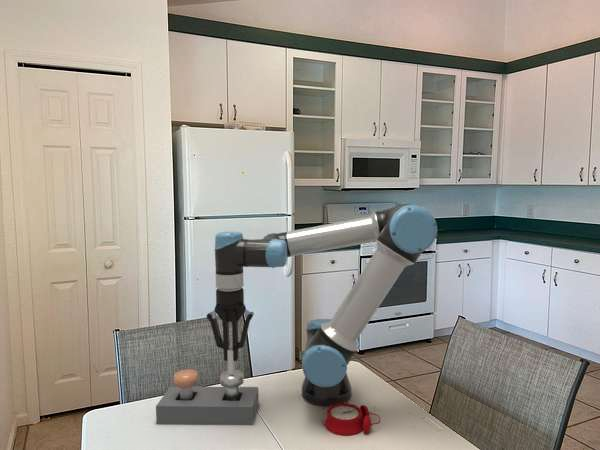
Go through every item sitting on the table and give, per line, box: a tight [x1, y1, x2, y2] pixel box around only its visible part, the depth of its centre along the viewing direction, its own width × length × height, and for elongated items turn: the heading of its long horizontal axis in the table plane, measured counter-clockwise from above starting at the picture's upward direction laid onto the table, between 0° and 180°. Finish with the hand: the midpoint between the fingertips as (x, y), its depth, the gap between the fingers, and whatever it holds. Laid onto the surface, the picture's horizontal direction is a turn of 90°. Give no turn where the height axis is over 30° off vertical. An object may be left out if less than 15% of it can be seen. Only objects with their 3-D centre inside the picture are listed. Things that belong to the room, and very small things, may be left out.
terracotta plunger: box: [173, 368, 199, 400], centre depth 126 cm, size 6×6×7 cm
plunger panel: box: [155, 386, 260, 426], centre depth 126 cm, size 26×12×5 cm, turn 88°
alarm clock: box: [321, 402, 381, 436], centre depth 119 cm, size 10×6×15 cm
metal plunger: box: [219, 369, 245, 401], centre depth 125 cm, size 6×6×7 cm
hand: (231, 371), depth 125 cm, fingers closed
